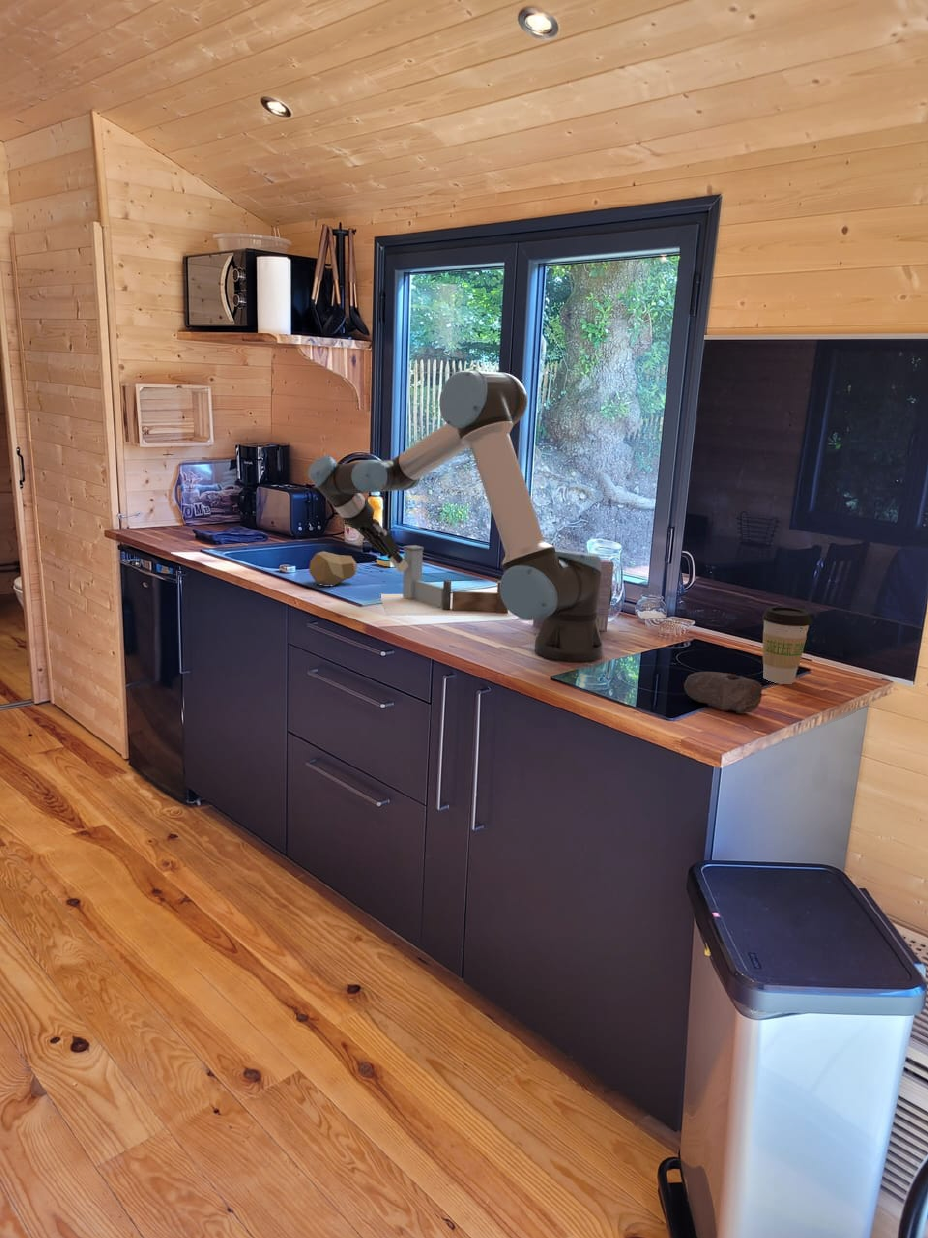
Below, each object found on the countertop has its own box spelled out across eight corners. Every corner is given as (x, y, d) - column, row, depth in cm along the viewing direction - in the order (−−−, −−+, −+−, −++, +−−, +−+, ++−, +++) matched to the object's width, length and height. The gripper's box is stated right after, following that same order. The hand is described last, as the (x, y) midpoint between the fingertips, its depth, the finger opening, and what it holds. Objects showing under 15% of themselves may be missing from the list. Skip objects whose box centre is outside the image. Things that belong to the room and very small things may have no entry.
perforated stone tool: (676, 700, 179) (680, 666, 177) (690, 694, 182) (694, 661, 181) (748, 721, 169) (752, 685, 167) (761, 715, 173) (766, 679, 171)
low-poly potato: (304, 590, 258) (338, 575, 254) (295, 554, 261) (328, 539, 256) (334, 595, 272) (366, 581, 268) (325, 561, 274) (357, 547, 270)
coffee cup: (776, 689, 188) (786, 618, 185) (744, 675, 197) (752, 606, 193) (813, 685, 192) (823, 615, 188) (780, 671, 201) (789, 604, 197)
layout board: (518, 617, 237) (518, 615, 237) (386, 617, 231) (386, 614, 231) (499, 596, 260) (499, 594, 260) (378, 595, 254) (379, 593, 254)
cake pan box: (605, 626, 233) (611, 557, 228) (612, 631, 228) (618, 561, 224) (531, 626, 230) (536, 556, 225) (536, 631, 225) (541, 560, 221)
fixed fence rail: (442, 610, 238) (443, 580, 236) (442, 608, 241) (443, 578, 239) (507, 613, 238) (509, 583, 236) (507, 611, 241) (509, 581, 239)
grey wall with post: (448, 606, 242) (450, 554, 239) (436, 608, 240) (438, 555, 236) (413, 594, 254) (415, 545, 250) (401, 596, 251) (403, 546, 248)
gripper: (378, 500, 228) (427, 562, 243) (349, 494, 238) (398, 553, 253) (359, 523, 226) (410, 583, 241) (330, 515, 236) (381, 574, 251)
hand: (404, 568), depth 247 cm, fingers closed
